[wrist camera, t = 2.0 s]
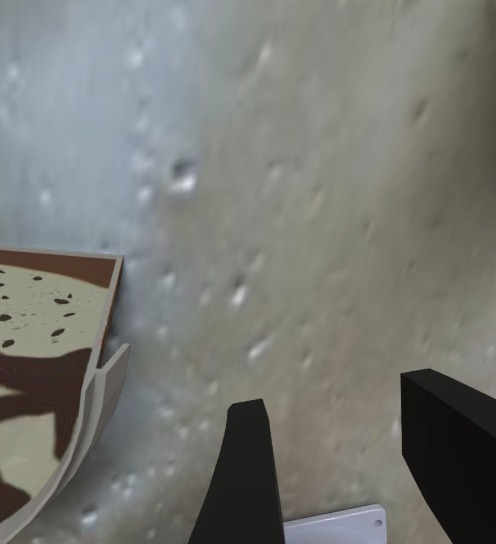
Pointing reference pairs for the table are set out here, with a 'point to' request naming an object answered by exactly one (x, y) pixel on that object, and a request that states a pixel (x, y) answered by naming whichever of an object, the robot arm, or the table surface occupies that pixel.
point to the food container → (52, 372)
